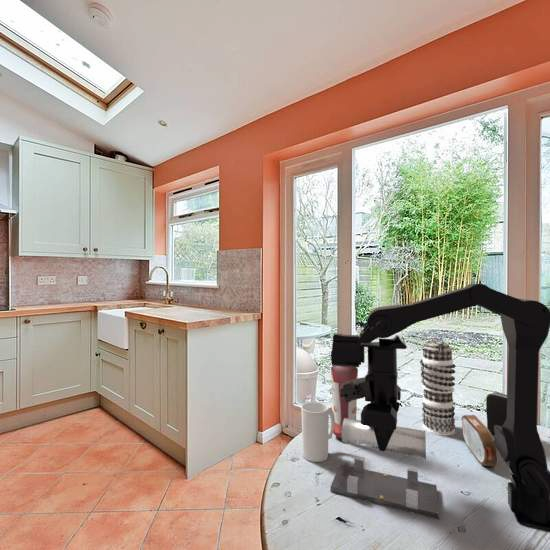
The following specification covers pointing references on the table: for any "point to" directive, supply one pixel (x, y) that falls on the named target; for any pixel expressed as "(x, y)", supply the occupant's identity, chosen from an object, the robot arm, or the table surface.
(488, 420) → the battery charger
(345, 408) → the liquor
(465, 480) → the table surface
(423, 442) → the tube
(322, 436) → the mug
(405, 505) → the cradle
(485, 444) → the tin
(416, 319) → the robot arm
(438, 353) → the decorative candle
